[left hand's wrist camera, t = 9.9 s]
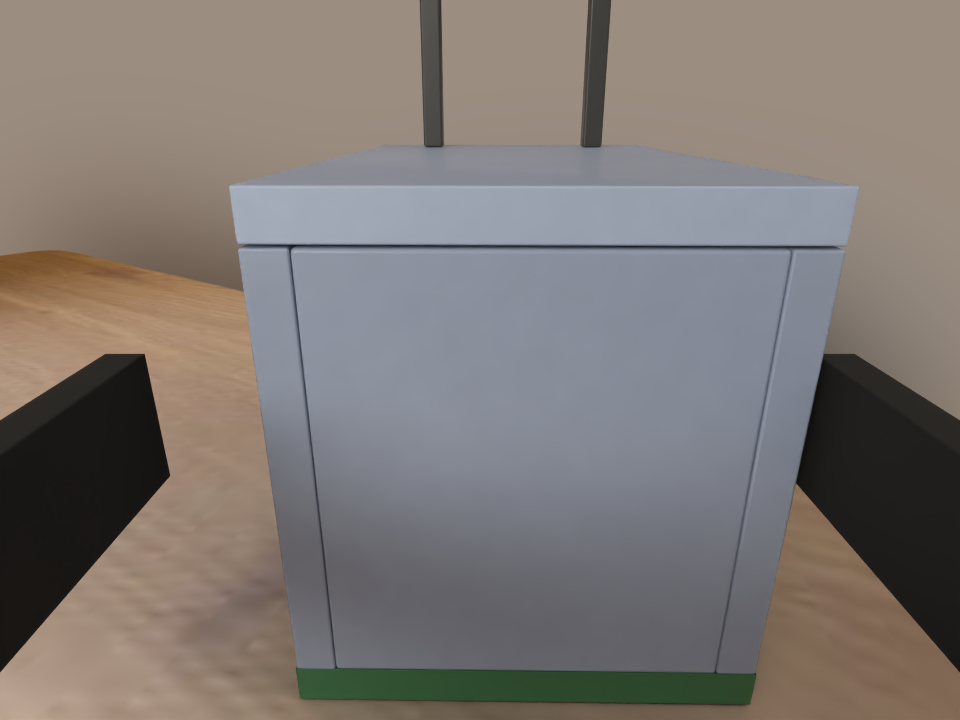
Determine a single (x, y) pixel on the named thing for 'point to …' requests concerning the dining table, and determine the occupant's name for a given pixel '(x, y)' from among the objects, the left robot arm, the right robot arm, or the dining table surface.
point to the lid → (537, 187)
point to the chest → (534, 461)
